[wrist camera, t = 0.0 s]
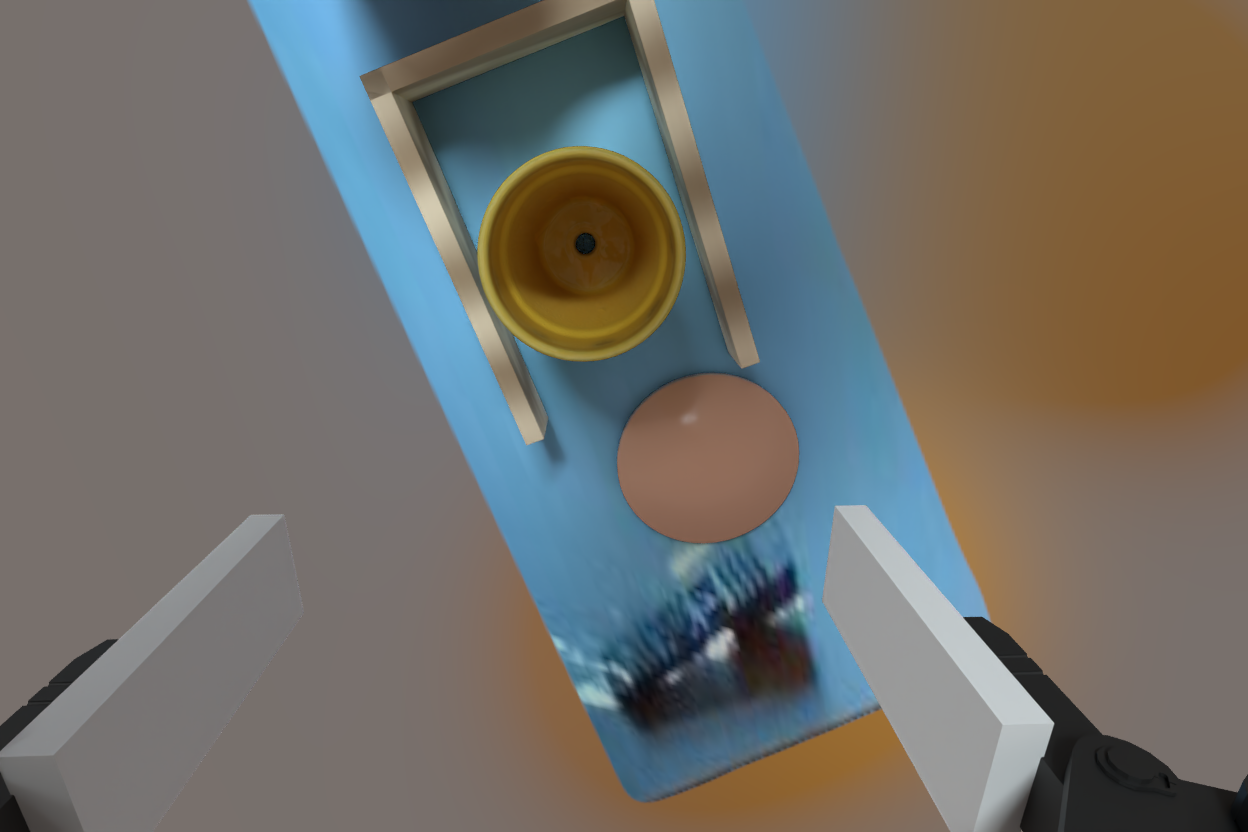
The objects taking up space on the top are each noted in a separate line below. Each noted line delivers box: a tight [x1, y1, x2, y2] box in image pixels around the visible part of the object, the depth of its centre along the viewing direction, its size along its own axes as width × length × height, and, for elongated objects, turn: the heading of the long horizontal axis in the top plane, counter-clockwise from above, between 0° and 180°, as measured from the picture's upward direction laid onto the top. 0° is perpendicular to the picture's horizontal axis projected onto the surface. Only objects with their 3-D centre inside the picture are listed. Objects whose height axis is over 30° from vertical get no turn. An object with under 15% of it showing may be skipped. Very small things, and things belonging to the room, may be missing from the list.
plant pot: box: [477, 146, 686, 362], centre depth 35 cm, size 10×10×10 cm
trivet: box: [617, 372, 799, 543], centre depth 45 cm, size 13×13×1 cm
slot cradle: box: [360, 0, 760, 445], centre depth 37 cm, size 22×16×4 cm
